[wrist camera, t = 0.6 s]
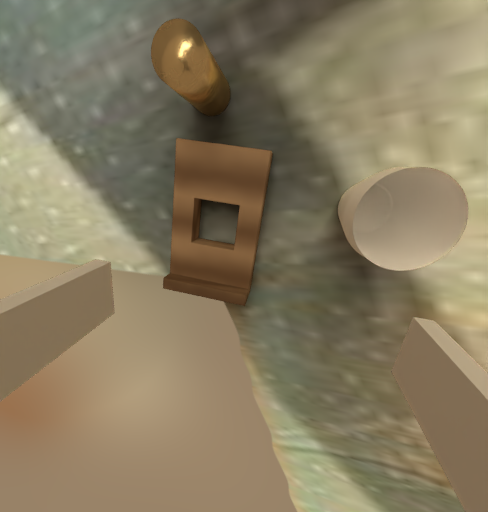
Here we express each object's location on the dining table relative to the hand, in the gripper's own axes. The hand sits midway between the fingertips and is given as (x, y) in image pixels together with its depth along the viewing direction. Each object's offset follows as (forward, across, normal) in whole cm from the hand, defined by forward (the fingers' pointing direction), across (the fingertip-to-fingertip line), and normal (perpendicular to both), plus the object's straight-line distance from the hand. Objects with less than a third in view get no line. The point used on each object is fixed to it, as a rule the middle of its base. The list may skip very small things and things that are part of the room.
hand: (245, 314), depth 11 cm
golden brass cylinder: (+25, -10, +15) cm, 31 cm away
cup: (+25, +11, +3) cm, 28 cm away
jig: (+25, -8, -1) cm, 26 cm away
